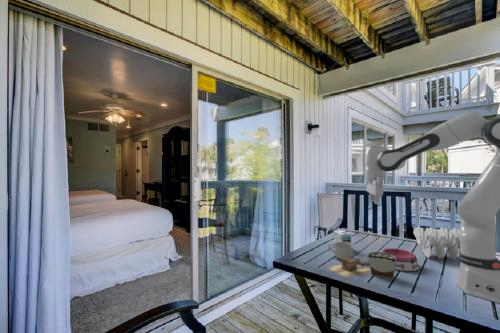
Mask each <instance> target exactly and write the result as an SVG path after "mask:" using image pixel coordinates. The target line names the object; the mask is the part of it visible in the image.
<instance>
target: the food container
mask: <svg viewBox="0 0 500 333" xmlns="http://www.w3.org/2000/svg"><path fill="white" fill-rule="evenodd" d="M367 258H369V262H370V265H369V266H370V268H369V269H370V270H371V272H370V274H371V276H375V277H382V278H386V279H392V280H395V279H394V278H395V271H396V270H395V261H396V258H395V256H393V255H391V254H388V253H383V252H382V251H371V252H368V255H367ZM396 262H397V261H396Z"/></svg>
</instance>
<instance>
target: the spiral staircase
mask: <svg viewBox="0 0 500 333" xmlns="http://www.w3.org/2000/svg"><path fill="white" fill-rule="evenodd" d="M413 235H414V236H415V238H416V242H417V245H422V250H421V251H422V252H423V254H424V257H427V259H430V258H431V256H432V252H434V253H435V256H436V258H438V259H439V260H440V259H441V260H442V259H443V258H444V256H445V253H446V255H448V256H449V259H453V260H456V259H457V257H459V252H460V229H459V228H457V227H456V226H455V227H453V228H452V229H451V228H446V227H445V228H444V226H441V227H440V228H437V229H435V228H433V226H430V227H426V228H423V227H421V226H420V225H418V226H417V227H414V229H413ZM432 247H433V249H432ZM445 249H446V251H445Z"/></svg>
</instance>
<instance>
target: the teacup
mask: <svg viewBox="0 0 500 333" xmlns="http://www.w3.org/2000/svg"><path fill="white" fill-rule="evenodd" d="M331 246H332V248H331ZM354 247H355V246H354V245H353V243H352V244H351V243H347V242H336V243H334V242H333V243H332V242H331V243H329V244H328V249H329V250H330V252H332V253H333V254H334V255H335V257H336V258H337V259H339V260H341V261H342V259H343V258H347V257H350V258H354V257H353V256H354V253H355V252H354V249H355V248H354Z"/></svg>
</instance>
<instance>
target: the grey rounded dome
mask: <svg viewBox="0 0 500 333" xmlns="http://www.w3.org/2000/svg"><path fill="white" fill-rule="evenodd" d="M355 260H357V264H358V265H361V266H370V262H369V257H363V256H362V257H356V258H355Z"/></svg>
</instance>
